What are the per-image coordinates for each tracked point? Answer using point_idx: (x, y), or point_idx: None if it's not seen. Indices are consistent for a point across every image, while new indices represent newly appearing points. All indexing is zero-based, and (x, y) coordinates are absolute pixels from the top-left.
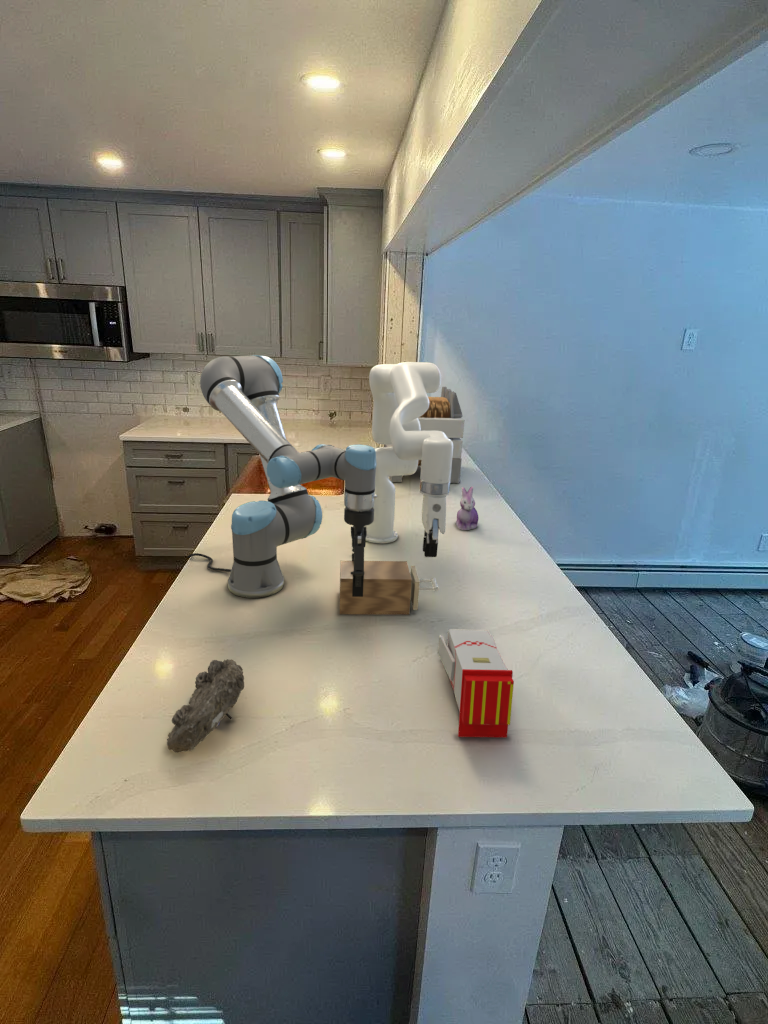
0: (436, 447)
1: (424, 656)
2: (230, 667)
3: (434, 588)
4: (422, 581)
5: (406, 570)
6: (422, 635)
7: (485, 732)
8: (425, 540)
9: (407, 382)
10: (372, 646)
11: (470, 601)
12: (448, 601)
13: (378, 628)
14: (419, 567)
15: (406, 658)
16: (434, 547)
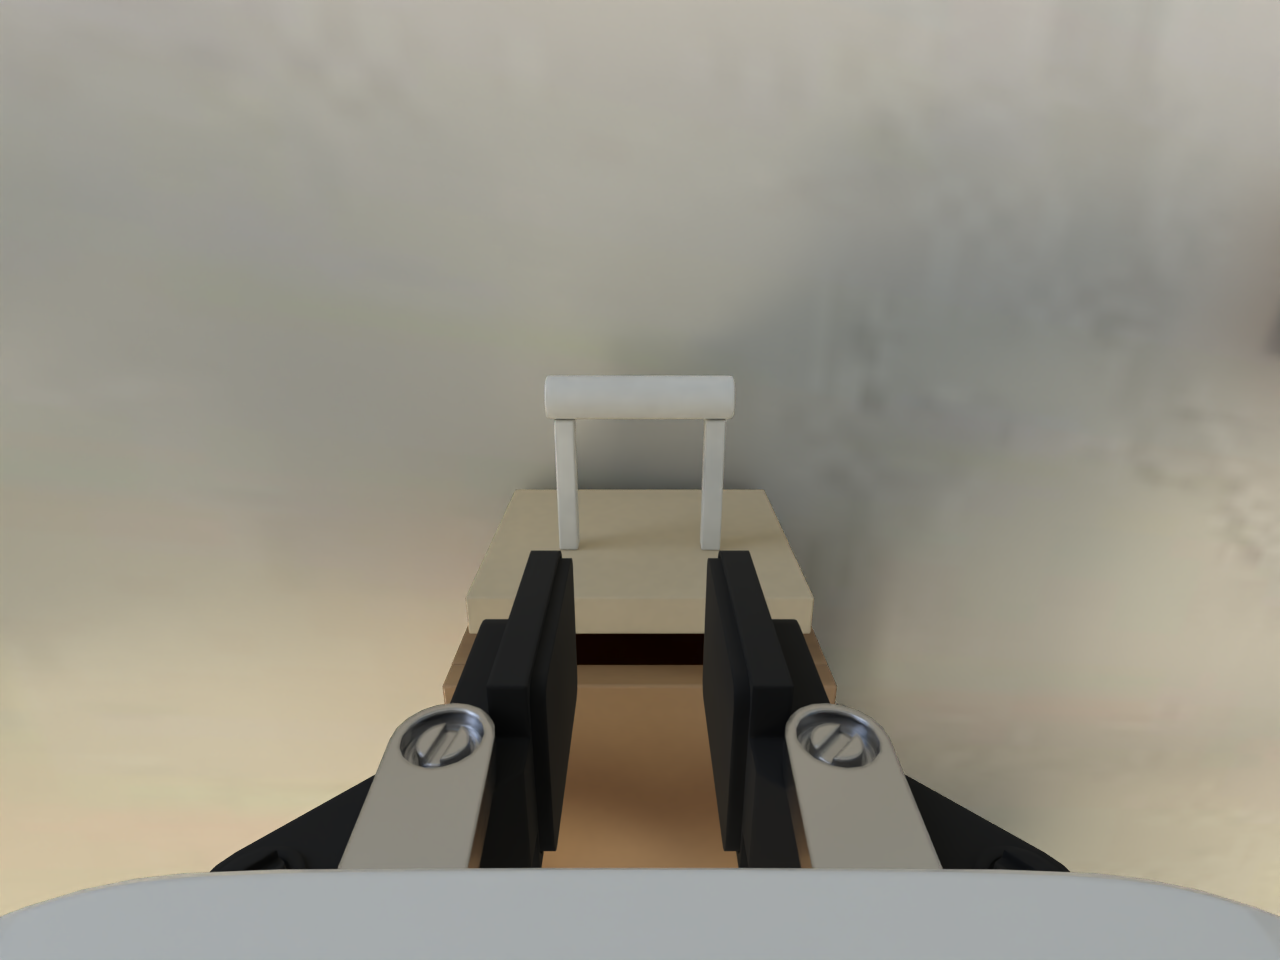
0: None
1: (1232, 498)
2: None
3: (731, 416)
4: (577, 490)
5: (651, 709)
6: (1019, 481)
7: None
8: (558, 812)
9: None
10: (1066, 729)
11: (586, 29)
12: (592, 231)
13: (904, 696)
14: (36, 376)
15: (1219, 589)
16: (823, 696)
